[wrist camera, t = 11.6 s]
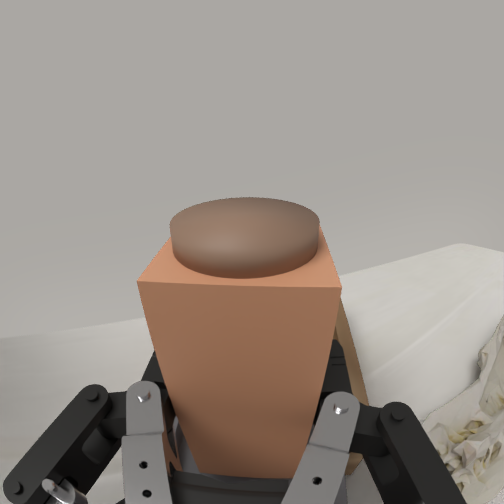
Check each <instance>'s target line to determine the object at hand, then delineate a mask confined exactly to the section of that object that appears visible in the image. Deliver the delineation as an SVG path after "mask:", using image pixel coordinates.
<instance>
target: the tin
mask: <svg viewBox="0 0 504 504" xmlns="http://www.w3.org/2000/svg"><path fill="white" fill-rule="evenodd" d="M319 223H320V222H319V218H318V216H317V215H316V214H315V213H314V212H313V211H311V210H310V209H308V208H306V207H304V206H301V205H299V204H296V203H292V202H288V201H283V200H277V199H269V198H253V197H248V198H247V197H246V198H244V197H243V198H229V199H220V200H214V201H209V202H204V203H201V204H197V205H194V206H192V207H189V208H186V209H184V210H182V211H181V212H179V213H178V214H176V215H175V216H174V217H173V218H172V220H171V222H170V233H171V237H170V238H169V239H168V241H167V242H166V243H165V244H164V246H163V247H162V249H161V250H160V251H159V252H158V254H157V255H156V256H155V257H154V259H153V260H152V261H151V263H150V264H149V265H148V267H147V268H146V269H145V271H144V272H143V273H142V275H141V276H140V277H139V279H138V280H137V284H138V289H139V293H140V297H141V301H142V305H143V309H144V313H145V317H146V321H147V325H148V328H149V332H150V336H151V339H152V343H153V346H154V350H155V353H156V356H157V360H158V363H159V366H160V369H161V372H162V376H163V379H164V382H165V385H166V388H167V391H168V393H169V396H170V399H171V402H172V405H173V408H174V410H175V413H176V416H177V418H178V421H179V424H180V426H181V429H182V431H183V434H184V436H185V439H186V441H187V444H188V446H189V449H190V451H191V453H192V456H193V458H194V460H195V463H196V465H197V467H198V469H199V472H200V473H207V474H216V475H225V476H236V477H250V478H293V477H294V475H295V472H296V470H297V468H298V465H299V463H300V461H301V458H302V456H303V454H304V451H305V448H306V445H307V442H308V438H309V435H310V431H311V428H312V424H313V420H314V417H315V413H316V409H317V405H318V401H319V397H320V393H321V389H322V385H323V381H324V377H325V372H326V368H327V364H328V359H329V354H330V350H331V345H332V340H333V335H334V330H335V324H336V319H337V314H338V308H339V302H340V296H341V290H342V286H341V283H340V280H339V277H338V274H337V271H336V268H335V266H334V263H333V260H332V257H331V255H330V251H329V249H328V246H327V243H326V241H325V238H324V235H323V232H322V230H321V227H320V224H319Z"/></svg>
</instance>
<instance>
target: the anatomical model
mask: <svg viewBox="0 0 504 504" xmlns="http://www.w3.org/2000/svg"><path fill="white" fill-rule="evenodd" d="M478 356H479V361H478V362H477V364H478V366H479V367H480V369H481V372H480V376H479V378H478V379H477V380H476V381H475V382H474V383H473V384H472V385H470V386H469V387H468V388H467V389H466V390H464V391H463V392H462V393H461V394H459V395H458V396H457V397H455V398H454V399H453V400H451V401H450V402H449V403H447V404H445V405H444V406H442V407H440V408H439V409H437V410H435V411H433V412H431V413H430V414H429V415H428V417H427V418H426V419H425V421H424V422H423V423H422V427H423V429H424V430H425V432H426V434H427V435H428V437H429V439H430V440H431V442H432V443H433V445H434V447H435V448H436V450H437V452H438V454H439V455H440V457H441V459H442V460H443V462H444V464H445V465H446V467H447V469H448V471H449V472H450V474H451V476H452V478H453V479H454V481H455V483H456V485H457V486H458V488H459V490H460V492H461V494H462V495H463V497H464V499H465V501H466V503H467V504H486V503H487V502H489V501H491V500H492V499H494V498H495V497H496V496H497V495H498V493H499V492H500V491H501V490H502V489H503V487H504V315H503V317H502V319H501V321H500V323H499V324H498V326H497V328H496V331H495V333H494V335H493V337H492V339H491V340H490V342H489V343H488V344H486V345H485V346H484V347H483V348H482V349H481V350H480V351H479V353H478ZM486 401H487V402H486Z"/></svg>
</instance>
